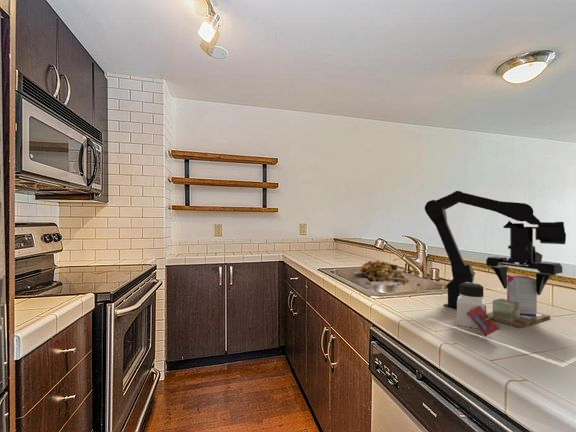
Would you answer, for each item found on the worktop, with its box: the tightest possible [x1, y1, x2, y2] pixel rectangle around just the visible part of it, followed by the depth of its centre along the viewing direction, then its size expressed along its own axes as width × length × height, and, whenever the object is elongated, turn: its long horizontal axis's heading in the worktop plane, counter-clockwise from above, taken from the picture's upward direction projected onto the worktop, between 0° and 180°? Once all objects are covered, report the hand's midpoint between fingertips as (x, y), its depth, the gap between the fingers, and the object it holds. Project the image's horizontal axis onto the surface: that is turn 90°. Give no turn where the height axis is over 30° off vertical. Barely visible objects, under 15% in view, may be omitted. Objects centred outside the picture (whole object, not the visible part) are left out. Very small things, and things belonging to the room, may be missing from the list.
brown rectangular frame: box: [486, 298, 551, 329], centre depth 94 cm, size 18×10×6 cm, turn 117°
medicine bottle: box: [456, 282, 487, 330], centre depth 89 cm, size 7×7×12 cm
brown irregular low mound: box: [354, 260, 421, 287], centre depth 156 cm, size 35×26×11 cm
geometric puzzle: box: [466, 306, 501, 337], centre depth 80 cm, size 7×7×8 cm
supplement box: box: [506, 274, 538, 316], centre depth 95 cm, size 6×6×12 cm
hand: (521, 291), depth 95 cm, fingers open, 9 cm apart
